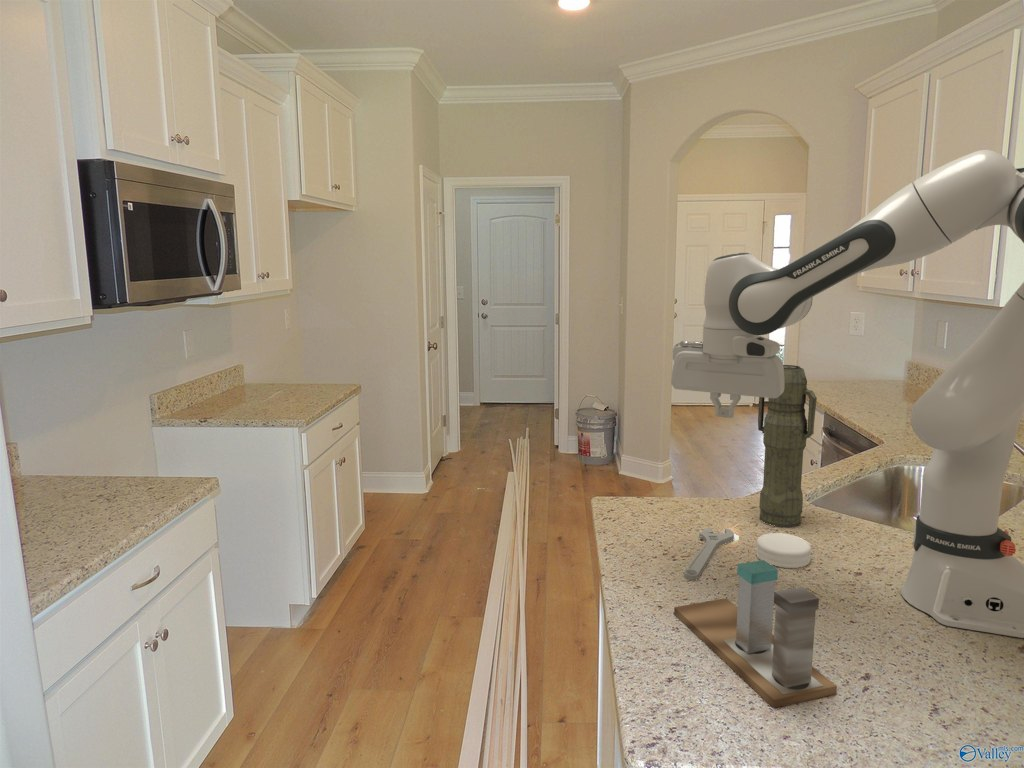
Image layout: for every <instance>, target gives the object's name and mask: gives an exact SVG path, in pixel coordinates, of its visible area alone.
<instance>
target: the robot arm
mask: <svg viewBox="0 0 1024 768" xmlns="http://www.w3.org/2000/svg"><path fill="white" fill-rule="evenodd" d="M992 226H1006V227H1009V228H1010V229H1011V230H1012V232H1013V233H1014V234H1015V235H1016V237H1017V238H1018V239H1020V241H1022V243H1023V244H1024V167H1020V168H1016V167H1015V166H1014V164H1013V163H1012V161H1010V160H1009V159H1008V158H1007V157H1006V156H1004V155H1003V154H1001V153H999V152H997V151H994V150H992V149H982V150H979V149H978V150H976V151H973V152H971V153H969V154H965V155H963V156H960V157H959V158H958V157H957V158H956V159H954V160H951V161H949V162H947V163H945V164H943V165H940V166H939V167H937V168H934V169H933V170H931V171H930V172H928V173H926V174H924V175H921V176H920V177H919V178H917V179H916V180H914V181H912V182H910V183H908V184H907V185H906V186H904V187H902V188H901V189H899V190H898V191H896V192H895V193H893V194H892V195H890V196H889V197H888V198H886V199H885V200H884V201H882V202H881V203H880V204H879V205H877V206H876V207H875V208H874V209H873V210H871V211H869V213H867V214H866V215H864V216H863V217H862V218H861V219H860V220H858V221H857V222H855V224H853V225H851V226H850V227H849V228H848V229H847V230H845V231H844V232H842V233H841V234H840V235H838V236H837V237H835V238H833V239H830V241H828V242H826V243H824V244H823V245H821V246H819V247H818V248H816V249H814V250H812V251H810V252H809V253H807V254H805V255H803V256H802V257H800V258H798V259H796V260H794V261H793V262H791V263H789V264H787V265H785V266H783V267H781V268H779V269H778V268H776V267H773V266H771V265H769V264H766V263H765V262H762V261H761V260H759V259H758V258H757V257H755V256H754V255H753V254H752V253H748V252H739V253H732V254H726V255H721V256H718V257H716V258H714V259H713V260H712V261H711V262H710V263H709V265H708V268H707V271H706V277H705V283H704V285H705V286H704V295H703V296H704V300H703V301H704V302H703V305H704V308H705V309H704V310H705V319H704V322H703V326H702V327H703V328H702V331H703V332H702V341H687V340H681V341H680V342H678V343H676V344H675V345H674V346H673V349H672V361H673V366H672V371H671V379H670V381H671V386H672V387H673V388H674V390H682V391H690V392H691V391H692V392H700V393H701V392H702V393H710V395H709V399H710V400H711V402H712V405H713V406H714V408H715V417H720V418H727V419H728V418H729V419H733V418H734V415H735V407H736V406H737V405H738V403H739V402H740V401H741V399H742V397H741V396H744V397H745V396H746V397H755V398H759V397H765V398H766V399H768V398H777V397H779V396H780V395H781V394H782V393H783V392H784V368H783V365H784V363H783V361H782V359H781V358H780V357H779V355H777V354H779V352H780V350H781V349H780V348H781V347H780V346H781V344H780V343H779V342H778V341H775V340H772V339H769V338H766V337H764V336H766V335H769V334H771V333H774V332H775V331H777V330H781V329H784V328H786V327H790V326H792V325H794V324H797V323H799V322H800V321H802V320H803V319H804V318H805V317H806V316H807V315H808V314H809V312H810V310H811V307H812V306H813V297H815V296H816V295H817V296H818V295H819V294H821V293H823V292H824V291H826V290H828V289H830V288H833V287H834V286H836V285H837V284H840V283H841V282H843V281H845V280H847V279H849V278H852V277H853V276H855V275H858V274H861V273H865V272H867V271H871V270H874V269H879V268H885V267H891V266H896V265H902V264H906V263H909V262H912V261H915V260H918V259H921V258H923V257H927V256H929V255H931V254H933V253H935V252H938V251H940V250H942V249H944V248H946V247H947V246H950V245H952V244H953V243H955V242H957V241H959V240H961V239H962V238H965V237H966V236H967V235H969V234H971V233H973V232H974V231H978V230H980V229H983V228H987V227H992ZM722 394H724V395H729V401H731V403H730V404H729V406H724V405H722V403H721V401H720V399H719V398H721V397H722ZM1023 415H1024V281H1023V282H1022V283H1021V285H1020V286H1019V287H1018V288H1017V290H1016V291H1015V292H1014V293H1013V294H1012V296H1011V297H1010V298H1009V300H1008V301H1007V302H1006V303H1005V305H1004V306H1003V307H1002V308H1001V310H1000V311H999V312H998V313H997V314H996V316H995V317H994V318H993V319H992V321H991V322H990V323H989V324H988V326H987V327H986V328H985V329H984V331H983V332H982V333H981V334H980V335H979V336H978V337H977V338H976V339H975V340H974V341H973V342H972V343H971V345H969V346H968V347H967V348H966V349H965V350H964V351H963V352H961V354H960V355H959V356H958V357H957V358H956V359H955V360H954V361H953V362H952V363H951V364H950V365H949V367H947V369H945V370H944V372H943V373H942V374H940V376H939V377H938V378H937V379H936V380H935V381H934V382H933V383H932V384H931V386H930V387H929V388H928V389H927V390H926V391H925V392H923V394H922V395H921V396H920V397H919V398H918V399H917V400H916V401H915V402H914V404H913V406H912V409H911V411H910V423H911V424H910V425H911V427H912V430H913V432H914V434H915V435H916V436H917V438H918V439H919V440H920V441H921V442H922V443H923V444H925V445H927V446H928V447H931V448H933V451H932V453H931V456H930V460H929V462H928V464H927V466H926V468H924V469H925V470H924V472H923V475H922V485H921V495H920V496H921V497H920V507H919V514H918V515H917V516H916V520H915V523H914V528H913V539H912V540H913V541H912V544H913V550H914V551H913V557H912V561H911V565H910V568H909V570H908V571H909V572H908V575H907V577H906V579H905V582H904V584H903V586H902V587H901V589H900V591H901V592H900V593H901V596H902V598H903V599H904V600H905V601H907V603H908V604H910V605H911V606H913V607H914V608H916V609H918V610H920V611H922V612H924V613H926V614H928V615H929V616H931V617H932V618H933V619H934V620H935V621H937V622H938V623H939V624H941V625H944V626H947V627H953V628H959V629H965V630H971V631H978V632H983V633H991V634H996V635H1003V636H1008V637H1013V638H1014V637H1015V638H1021V639H1024V563H1022V562H1021V560H1018V558H1016V557H1015V556H1014V555H1015V554H1016V552H1017V550H1016V545H1015V543H1014V542H1013V541H1012V537H1011V536H1010V535H1009V531H1007V529H1005V530H1004V531H1003V530H1002V529H1001V528H999V527H998V526H999V518H1000V517H999V516H1000V511H1001V501H1002V495H1003V494H1002V492H1003V487H1004V481H1005V477H1006V473H1007V470H1008V467H1009V464H1010V460H1011V457H1012V453H1013V450H1014V447H1015V443H1016V439H1017V434H1018V432H1019V431H1018V430H1019V425H1020V421H1021V419H1022V417H1023Z"/></svg>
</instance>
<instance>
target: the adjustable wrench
mask: <svg viewBox="0 0 1024 768" xmlns="http://www.w3.org/2000/svg"><path fill="white" fill-rule="evenodd" d="M698 536H699V537H698V539H699V538H700V539H699V540H701V541H703V540H704V541H705V542H704V541H703V542H704V544H703V546H701V548H700V550H699V551H697V553H696V554H695V556H694V557H693V559H692V560H691V561H690V563H689V564H688V565H687V566H686V568H685V569H684V571H683V577H684V578H685V580H688V581H697V580H699V578H700V577H701V575H702V573H703V571H704V570H705V568H706V567H707V565H708V564H709V562H710V560H711V559H712V558H713V555H714V554H715V552H716V550H717V549H718V548H720V547H721V546H720V545H722V546H724V545H726V544H725V543H727V544H729V543H728V542H730V543H732V542H734V540H735V532H734V531H733V530H732V529H729V528H728V527H727V528H726V527H725V528H724V532H723V533H716V532H715V533H714V530H713V528H712V527H707V528H704V529H703V530H702V531H701V532H699V535H698ZM733 539H734V540H733ZM731 541H732V542H731ZM723 544H724V545H723ZM719 546H720V547H719ZM717 547H718V548H717ZM716 548H717V549H716ZM714 551H715V552H714ZM713 553H714V554H713ZM710 558H711V559H710ZM699 576H700V577H699ZM696 579H697V580H696Z"/></svg>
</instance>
